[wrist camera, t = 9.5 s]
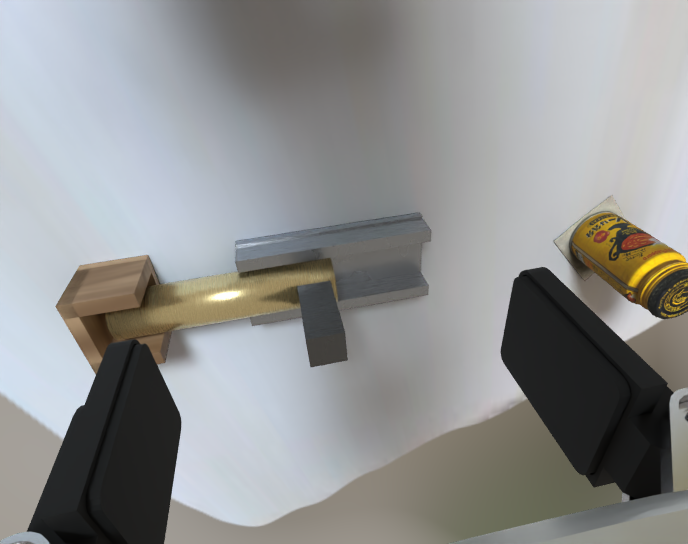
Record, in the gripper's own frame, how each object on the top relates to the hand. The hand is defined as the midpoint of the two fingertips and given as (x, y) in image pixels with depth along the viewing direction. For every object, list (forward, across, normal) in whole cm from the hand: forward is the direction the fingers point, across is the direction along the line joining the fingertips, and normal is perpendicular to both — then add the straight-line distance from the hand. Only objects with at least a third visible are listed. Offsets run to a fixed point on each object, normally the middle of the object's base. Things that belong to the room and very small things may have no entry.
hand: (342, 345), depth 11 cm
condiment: (+29, -33, +19) cm, 48 cm away
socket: (+28, +17, +16) cm, 37 cm away
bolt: (+28, +8, +16) cm, 33 cm away
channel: (+28, -3, +16) cm, 33 cm away
